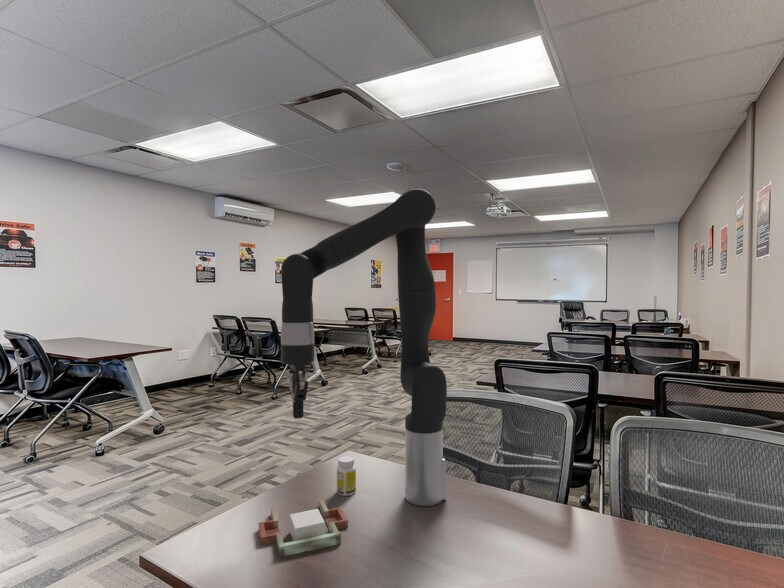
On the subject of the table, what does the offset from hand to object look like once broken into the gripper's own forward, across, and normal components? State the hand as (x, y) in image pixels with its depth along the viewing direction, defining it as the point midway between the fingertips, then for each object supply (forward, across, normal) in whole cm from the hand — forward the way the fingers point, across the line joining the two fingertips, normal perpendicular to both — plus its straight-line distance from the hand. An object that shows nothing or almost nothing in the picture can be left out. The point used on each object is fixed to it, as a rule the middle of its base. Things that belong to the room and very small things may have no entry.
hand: (298, 417), depth 99 cm
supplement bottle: (+22, +6, -13) cm, 26 cm away
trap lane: (+22, -7, 0) cm, 23 cm away
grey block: (+22, -10, 0) cm, 24 cm away
